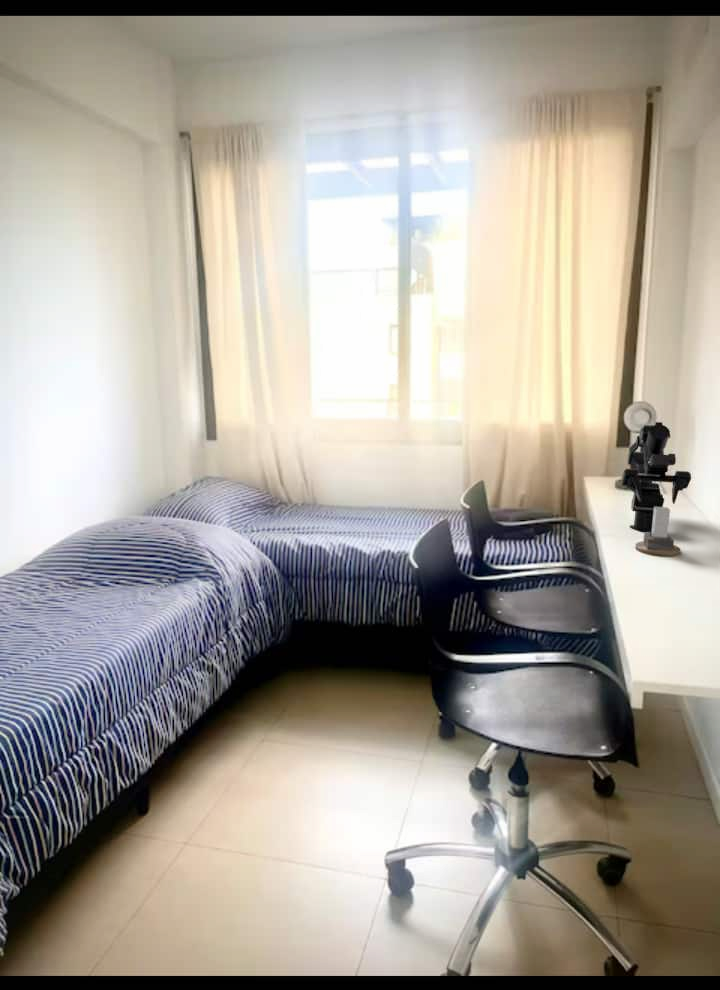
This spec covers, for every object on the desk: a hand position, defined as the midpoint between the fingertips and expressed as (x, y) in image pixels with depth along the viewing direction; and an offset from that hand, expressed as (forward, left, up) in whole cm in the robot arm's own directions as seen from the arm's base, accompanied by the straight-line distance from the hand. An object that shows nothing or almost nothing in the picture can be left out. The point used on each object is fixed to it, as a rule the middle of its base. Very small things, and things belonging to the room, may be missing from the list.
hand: (657, 502), depth 204 cm
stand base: (+6, -3, -13) cm, 15 cm away
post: (+6, -3, -12) cm, 14 cm away
